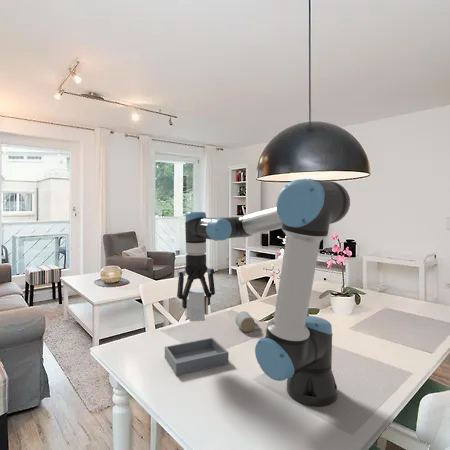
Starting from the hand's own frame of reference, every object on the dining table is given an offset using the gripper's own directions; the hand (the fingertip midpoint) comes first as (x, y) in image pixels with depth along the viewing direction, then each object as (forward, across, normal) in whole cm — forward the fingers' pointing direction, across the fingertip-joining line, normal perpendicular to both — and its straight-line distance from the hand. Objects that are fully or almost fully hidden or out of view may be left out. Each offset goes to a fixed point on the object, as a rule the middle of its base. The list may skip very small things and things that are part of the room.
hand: (196, 315), depth 121 cm
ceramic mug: (+18, -32, -19) cm, 41 cm away
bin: (+17, 0, 0) cm, 17 cm away
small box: (+1, 0, 0) cm, 1 cm away
